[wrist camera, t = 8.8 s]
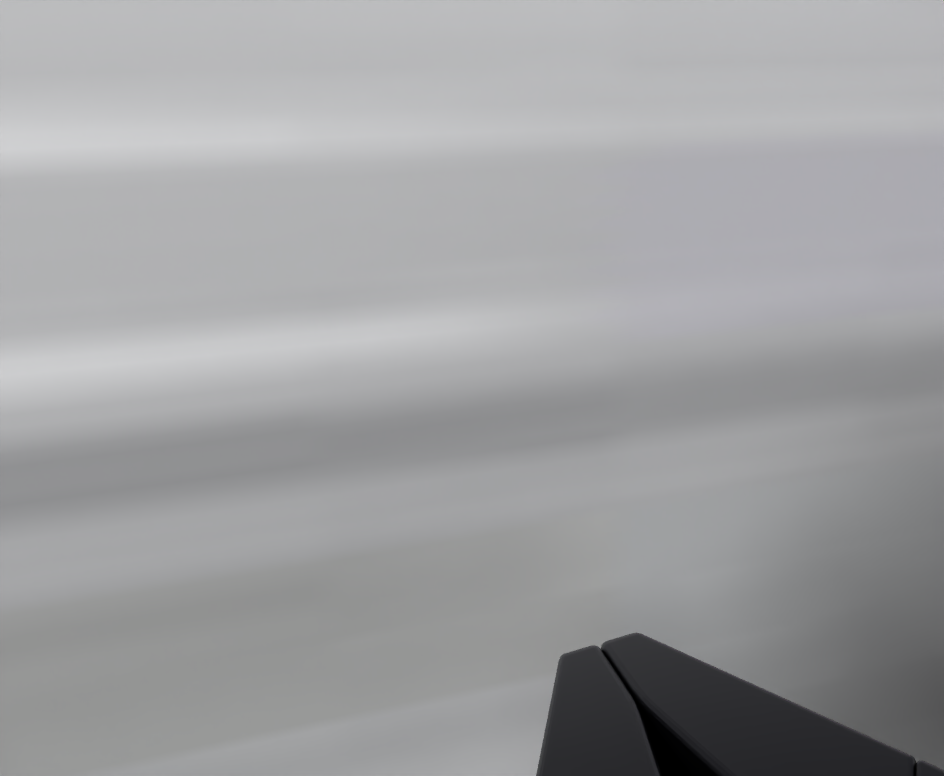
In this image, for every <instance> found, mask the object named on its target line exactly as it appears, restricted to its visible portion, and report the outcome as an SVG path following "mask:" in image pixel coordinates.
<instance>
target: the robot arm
mask: <svg viewBox="0 0 944 776" xmlns="http://www.w3.org/2000/svg"><path fill="white" fill-rule="evenodd" d="M536 776H944V770H942V769H940V768H938V767H936V766H934V765H931V764H929V763H927V762H925V761H918V762H917V763H916V761H915V759H914V757H912V756H911V755H908V754H906V753H904V752H902V751H900V750H897V749H895V748H893V747H891V746H889V745H886V744H884V743H882V742H880V741H877V740H875V739H873V738H871V737H869V736H866V735H864V734H862V733H860V732H858V731H855V730H853V729H851V728H849V727H846V726H844V725H842V724H840V723H838V722H835V721H833V720H831V719H829V718H827V717H824V716H822V715H820V714H818V713H816V712H813V711H811V710H809V709H807V708H804V707H802V706H800V705H798V704H796V703H793V702H791V701H789V700H787V699H785V698H782V697H780V696H778V695H776V694H773V693H771V692H769V691H767V690H765V689H762V688H760V687H758V686H756V685H754V684H751V683H749V682H747V681H745V680H742V679H740V678H738V677H736V676H734V675H731V674H729V673H727V672H725V671H723V670H720V669H718V668H716V667H714V666H712V665H709V664H707V663H705V662H703V661H700V660H698V659H696V658H694V657H692V656H689V655H687V654H685V653H683V652H681V651H678V650H676V649H674V648H672V647H669V646H667V645H665V644H663V643H661V642H658V641H656V640H654V639H652V638H650V637H647V636H645V635H643V634H640V633H632V634H629V635H625V636H622V637H619V638H615V639H612V640H609V641H606V642H604V643H603V644H602V646H601V649H600V648H599V647H598V646H589V647H585V648H582V649H579V650H575V651H572V652H569V653H565V654H563V655H562V656H561V657H560V659H559V662H558V668H557V673H556V678H555V683H554V688H553V693H552V698H551V703H550V708H549V713H548V718H547V724H546V729H545V734H544V739H543V744H542V749H541V754H540V759H539V764H538V769H537V774H536Z"/></svg>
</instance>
